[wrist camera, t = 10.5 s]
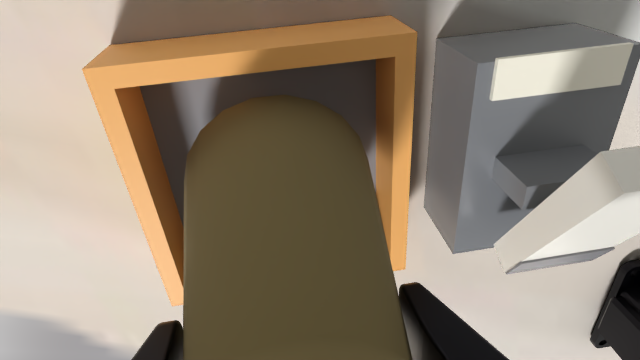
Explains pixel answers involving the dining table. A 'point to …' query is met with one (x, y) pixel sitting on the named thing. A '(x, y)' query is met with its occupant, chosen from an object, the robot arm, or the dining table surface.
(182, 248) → the orange square tray
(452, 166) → the breaker box
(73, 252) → the dining table surface
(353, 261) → the olive vase
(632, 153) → the breaker rocker
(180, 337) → the robot arm
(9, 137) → the dining table surface
